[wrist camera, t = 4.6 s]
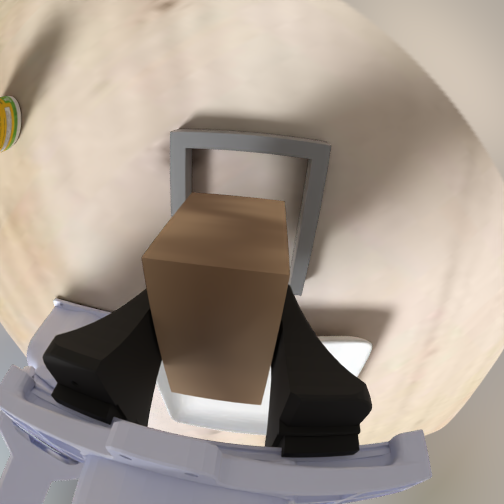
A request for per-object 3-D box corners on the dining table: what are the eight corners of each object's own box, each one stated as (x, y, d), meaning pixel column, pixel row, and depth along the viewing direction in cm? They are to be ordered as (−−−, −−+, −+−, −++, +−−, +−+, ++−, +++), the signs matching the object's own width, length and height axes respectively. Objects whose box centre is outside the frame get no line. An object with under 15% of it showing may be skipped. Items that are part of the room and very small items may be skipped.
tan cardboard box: (195, 313, 17) (171, 391, 12) (192, 192, 13) (141, 257, 8) (266, 321, 17) (261, 405, 12) (284, 201, 13) (290, 275, 8)
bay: (181, 269, 22) (176, 280, 21) (178, 128, 16) (170, 131, 15) (300, 283, 22) (301, 295, 20) (326, 141, 16) (331, 145, 15)
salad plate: (143, 299, 25) (129, 324, 22) (369, 317, 24) (378, 344, 21) (177, 404, 36) (172, 423, 33) (320, 416, 35) (321, 436, 32)
